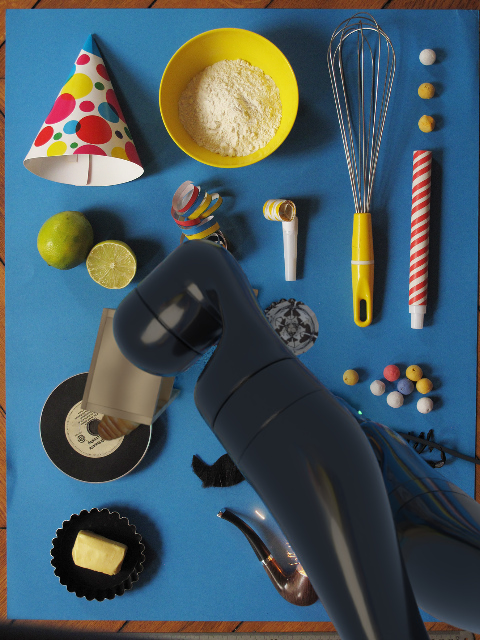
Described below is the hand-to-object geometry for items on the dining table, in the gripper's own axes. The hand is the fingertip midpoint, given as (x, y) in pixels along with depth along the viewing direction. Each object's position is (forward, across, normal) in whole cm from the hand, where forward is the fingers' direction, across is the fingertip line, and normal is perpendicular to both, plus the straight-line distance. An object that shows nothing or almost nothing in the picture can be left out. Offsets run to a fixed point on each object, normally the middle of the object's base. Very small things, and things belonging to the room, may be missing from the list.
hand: (220, 314), depth 63 cm
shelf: (+22, -11, -11) cm, 27 cm away
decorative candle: (+22, +10, +1) cm, 25 cm away
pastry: (+22, -16, -26) cm, 37 cm away
